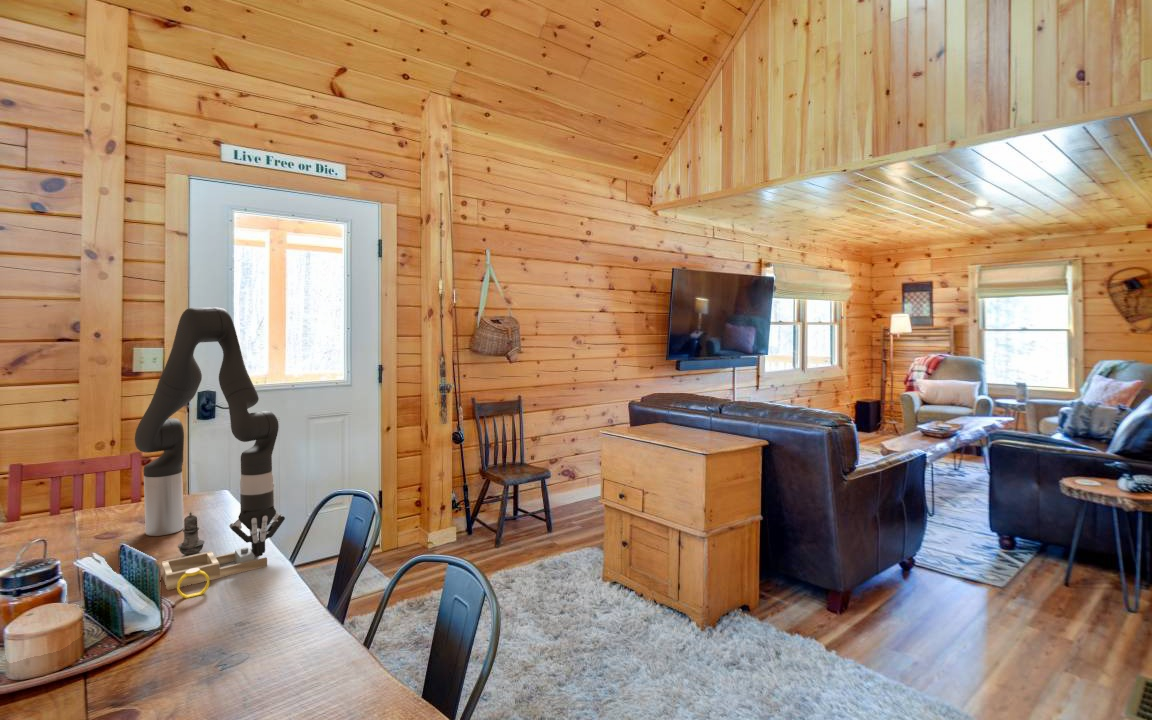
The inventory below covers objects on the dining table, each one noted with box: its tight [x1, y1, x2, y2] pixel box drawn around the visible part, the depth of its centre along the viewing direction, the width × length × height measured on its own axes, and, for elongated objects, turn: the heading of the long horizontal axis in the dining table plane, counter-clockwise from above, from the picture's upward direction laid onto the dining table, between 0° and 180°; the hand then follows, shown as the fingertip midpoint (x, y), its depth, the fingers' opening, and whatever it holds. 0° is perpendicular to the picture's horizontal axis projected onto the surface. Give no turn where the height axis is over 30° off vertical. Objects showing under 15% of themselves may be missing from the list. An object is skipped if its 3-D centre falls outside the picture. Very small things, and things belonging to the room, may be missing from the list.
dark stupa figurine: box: [177, 511, 206, 558], centre depth 150 cm, size 6×6×12 cm
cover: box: [234, 546, 256, 564], centre depth 146 cm, size 7×3×4 cm, turn 41°
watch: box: [176, 568, 210, 599], centre depth 129 cm, size 6×3×6 cm, turn 128°
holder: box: [161, 547, 268, 591], centre depth 142 cm, size 10×21×4 cm, turn 131°
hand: (258, 555), depth 148 cm, fingers closed
